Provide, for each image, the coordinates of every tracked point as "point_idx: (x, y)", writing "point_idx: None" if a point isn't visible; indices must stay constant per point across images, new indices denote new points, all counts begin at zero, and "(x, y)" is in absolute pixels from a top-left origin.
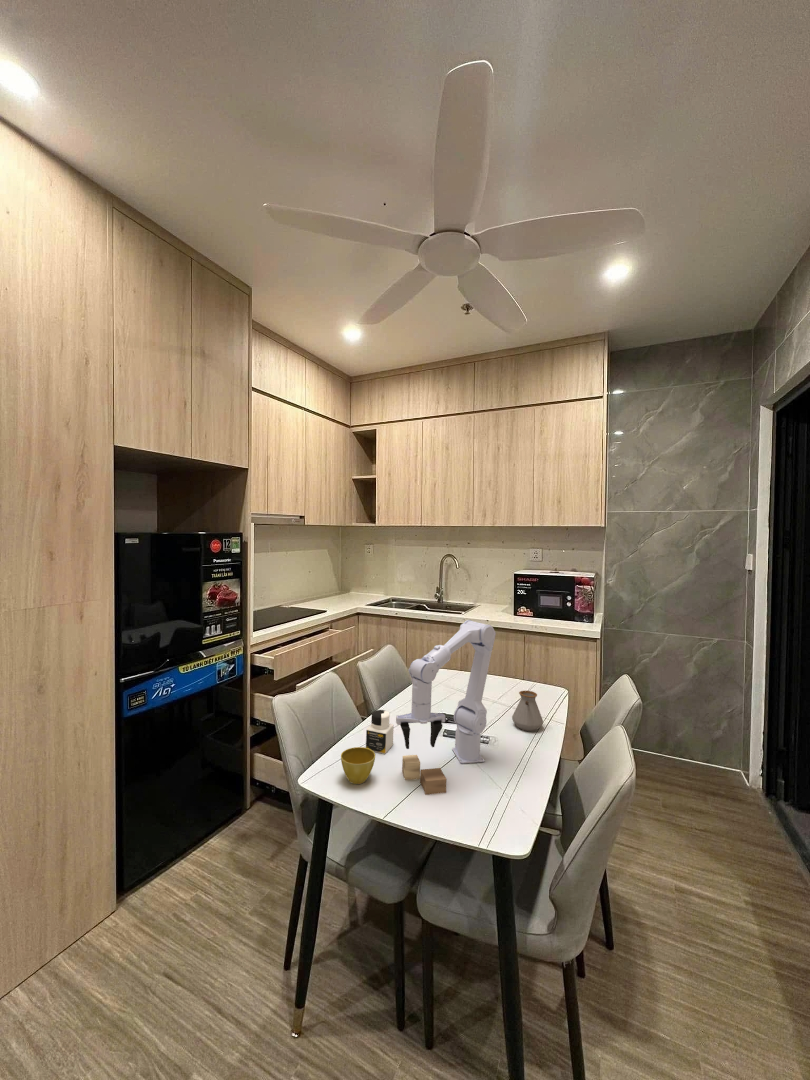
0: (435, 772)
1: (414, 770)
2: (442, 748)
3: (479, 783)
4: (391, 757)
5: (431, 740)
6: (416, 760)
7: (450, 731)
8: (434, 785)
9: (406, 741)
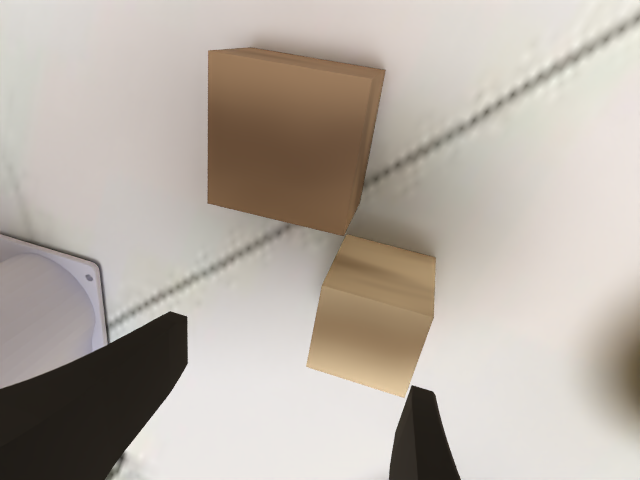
0: (256, 163)
1: (371, 269)
2: None
3: (46, 71)
4: None
5: (158, 376)
6: (337, 315)
7: None
8: (312, 63)
9: (451, 464)
